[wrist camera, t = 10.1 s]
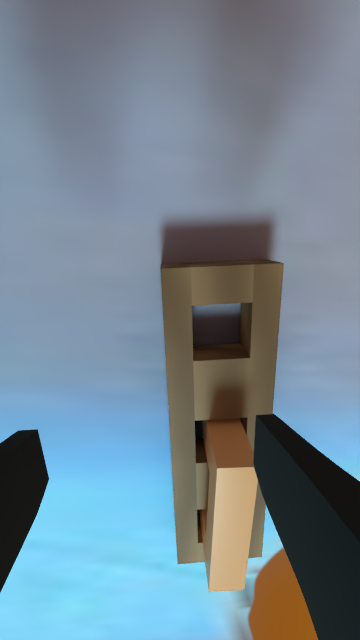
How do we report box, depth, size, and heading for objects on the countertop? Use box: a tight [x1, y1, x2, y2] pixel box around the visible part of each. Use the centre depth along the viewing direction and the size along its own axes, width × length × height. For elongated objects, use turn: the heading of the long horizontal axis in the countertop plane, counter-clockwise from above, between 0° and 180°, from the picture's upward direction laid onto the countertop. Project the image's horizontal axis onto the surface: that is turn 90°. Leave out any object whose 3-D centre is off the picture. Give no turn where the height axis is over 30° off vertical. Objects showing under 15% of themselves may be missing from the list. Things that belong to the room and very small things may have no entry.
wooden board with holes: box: [161, 260, 284, 564], centre depth 20 cm, size 7×24×2 cm, turn 2°
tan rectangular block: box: [199, 418, 258, 592], centre depth 19 cm, size 2×10×6 cm, turn 179°
